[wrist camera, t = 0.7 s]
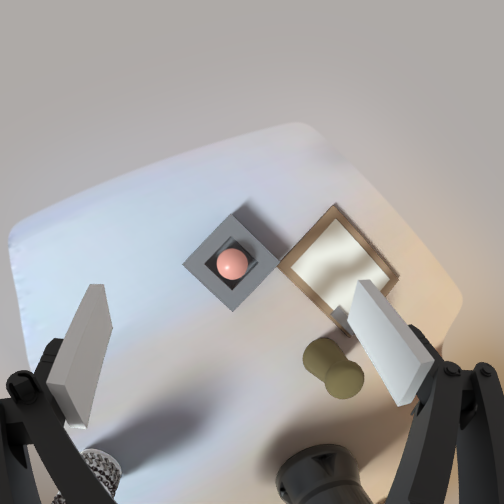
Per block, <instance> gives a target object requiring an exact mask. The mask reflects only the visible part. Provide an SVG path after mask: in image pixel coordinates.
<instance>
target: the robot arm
mask: <svg viewBox="0 0 504 504" xmlns="http://www.w3.org/2000/svg"><path fill="white" fill-rule="evenodd" d="M347 321H348V323H349V325H350V326H351V328H352V330H353V331H354V333H355V335H356V336H357V338H358V340H359V341H360V343H361V345H362V346H363V348H364V350H365V351H366V353H367V355H368V356H369V358H370V360H371V361H372V363H373V365H374V366H375V368H376V370H377V372H378V373H379V375H380V377H381V378H382V380H383V382H384V384H385V385H386V387H387V389H388V391H389V392H390V394H391V396H392V398H393V399H394V401H395V403H396V405H397V406H398V407H399V406H402V405H406V404H409V403H411V402H412V401H413V399H414V397H415V395H417V396H418V398H419V402H418V403H417V405H416V406H415V408H414V410H413V411H412V413H411V415H413V414H414V412H415V414H414V417H413V421H412V425H411V428H410V432H409V435H408V439H407V442H406V445H405V449H404V452H403V455H402V458H401V461H400V464H399V467H398V470H397V473H396V476H395V478H394V481H393V484H392V486H391V489H390V492H389V494H388V497H387V499H386V502H385V504H444V500H445V496H446V492H447V488H448V483H449V479H450V474H451V470H452V464H453V459H454V453H455V448H457V461H458V478H459V504H504V395H503V391H502V388H501V385H500V382H499V379H498V376H497V372H496V371H495V369H494V368H493V367H492V366H491V365H489V364H488V363H484V362H480V363H478V364H476V366H475V368H474V370H462V369H461V368H460V367H459V366H458V365H457V364H455V363H453V362H449V361H444V360H443V359H442V357H441V356H440V355H439V354H438V352H437V351H436V350H435V348H434V347H433V346H432V345H431V344H430V343H429V341H428V340H427V338H425V336H424V335H423V333H422V332H421V331H420V330H419V329H417V328H416V327H415V326H413V325H412V324H411V325H407V324H406V323H405V321H404V320H403V319H402V318H401V316H400V315H399V314H398V313H397V312H396V310H395V309H394V308H393V307H392V305H391V304H390V303H389V302H388V301H387V299H386V298H385V297H384V296H383V294H382V293H381V292H380V291H379V290H378V289H377V287H376V286H375V285H374V284H373V283H372V281H371V280H370V279H367V280H358V281H357V285H356V289H355V293H354V297H353V301H352V305H351V308H350V312H349V316H348V319H347ZM112 329H113V327H112V322H111V318H110V313H109V308H108V304H107V299H106V293H105V288H104V284H90V285H89V287H88V289H87V291H86V293H85V295H84V297H83V299H82V301H81V303H80V305H79V307H78V309H77V312H76V314H75V316H74V318H73V320H72V322H71V324H70V327H69V329H68V331H67V333H66V335H65V338H64V339H58V338H54V339H53V340H52V341H51V342H50V343H49V344H48V345H47V346H46V348H45V350H44V352H43V355H42V357H41V359H40V362H39V363H38V366H37V368H36V370H35V372H34V374H33V373H32V372H30V371H27V370H21V371H17V372H15V373H14V374H12V375H11V376H10V377H9V378H8V380H7V383H6V389H7V391H8V393H9V394H10V396H11V398H5V399H0V504H41V501H40V498H39V494H38V490H37V487H36V483H35V479H34V475H33V471H32V467H31V463H30V458H29V454H28V449H27V445H28V444H34V446H35V448H36V450H37V452H38V454H39V456H40V458H41V460H42V462H43V464H44V465H45V467H46V469H47V471H48V473H49V474H50V476H51V478H52V479H53V481H54V483H55V485H56V486H57V488H58V490H59V491H60V493H61V494H62V496H63V498H64V499H65V501H66V502H67V504H117V503H116V501H115V500H114V499H113V498H112V496H111V495H110V494H109V493H108V491H107V490H106V489H105V488H104V486H103V485H102V484H101V482H100V481H99V480H98V478H97V477H96V476H95V474H94V473H93V471H92V470H91V469H90V467H89V466H88V464H87V463H86V461H85V460H84V459H83V457H82V456H81V454H80V453H79V451H78V450H77V448H76V446H75V445H74V443H73V442H72V440H71V439H70V437H69V435H68V434H67V432H66V430H65V429H64V423H65V419H66V421H67V423H68V424H69V426H70V427H74V428H81V429H87V426H88V421H89V417H90V412H91V408H92V404H93V399H94V395H95V391H96V387H97V383H98V379H99V375H100V371H101V368H102V364H103V360H104V357H105V353H106V350H107V346H108V343H109V339H110V336H111V332H112ZM276 487H277V490H278V493H279V495H280V497H281V499H282V500H283V501H284V502H285V503H286V504H373V502H372V501H371V499H370V498H369V497H368V495H367V494H366V492H365V491H364V489H363V488H362V486H361V484H360V476H359V469H358V464H357V461H356V459H355V458H354V457H353V455H352V454H351V452H350V451H349V450H347V449H346V448H344V447H342V446H338V445H331V444H327V445H319V446H314V447H311V448H308V449H305V450H303V451H301V452H299V453H297V454H296V455H294V456H293V457H291V458H290V459H289V460H288V461H286V462H285V463H284V465H283V466H282V467H281V468H280V470H279V472H278V474H277V477H276Z"/></svg>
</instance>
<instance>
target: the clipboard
mask: <svg viewBox="0 0 504 504" xmlns="http://www.w3.org/2000/svg"><path fill="white" fill-rule="evenodd" d="M277 267H278V268H279V269H280V270H281V271H282V272H283V273H284V274H285V275H286V276H287V277H288V278H289V279H290V280H291V281H292V282H293V283H294V284H295V285H296V286H297V287H298V288H299V289H300V290H301V291H302V292H303V293H304V294H305V295H306V296H307V297H308V298H309V299H310V300H311V301H312V302H313V303H314V304H315V305H316V306H317V307H318V308H319V309H320V310H321V311H322V312H323V313H325V314H326V315H327V316H328V317H329V318H330V319H331V320H332V321H333V322H334V323H335V324H336V325H337V326H338V327H339V328H340V329H341V330H342V331H343V332H344V333H345V334H346V335H347V336H348V337H349V338H350V337H351V336H352V335H353V334H354V331H353V330H352V328H351V326H350V325H349V323H348V321H347V319H348V316H349V312H350V308H351V305H352V301H353V297H354V293H355V289H356V285H357V281H358V280H367V279H370V280H371V281H372V283H373V284H374V285H375V286H376V287H377V289H378V290H379V291H380V292H381V293H382V294H383V296H384V297H386V295H387V294H388V293H389V292H390V291H391V289H392V288H393V287H394V286H395V284H396V283H397V282H398V280H399V279H398V278H397V277H396V276H395V274H394V273H393V272H392V271H391V270H390V268H389V267H388V266H387V265H386V264H385V262H384V261H383V260H382V259H381V258H380V257H379V255H378V254H377V253H376V252H375V251H374V250H373V248H372V247H371V246H370V245H369V244H368V243H367V242H366V240H365V239H364V238H363V237H362V236H361V235H360V234H359V233H358V231H357V230H356V229H355V228H354V227H353V226H352V225H351V224H350V223H349V222H348V220H347V219H346V218H345V217H344V216H343V215H342V214H341V213H340V212H339V211H338V210H337V209H336V207H335V206H334V205H333V206H331V207H330V208H329V209H328V210H327V211H326V213H325V214H324V215H323V216H322V217H321V218H320V219H319V220H318V221H317V222H316V223H315V225H314V226H313V227H312V228H311V229H310V230H309V231H308V232H307V233H306V234H305V235H304V236H303V237H302V239H301V240H300V241H299V242H298V243H297V244H296V245H295V246H294V247H293V248H292V249H291V250H290V251H289V252H288V253H287V255H286V256H285V257H284V258H283V259H282V260H281V261H280V263H279V264H278V265H277Z"/></svg>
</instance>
